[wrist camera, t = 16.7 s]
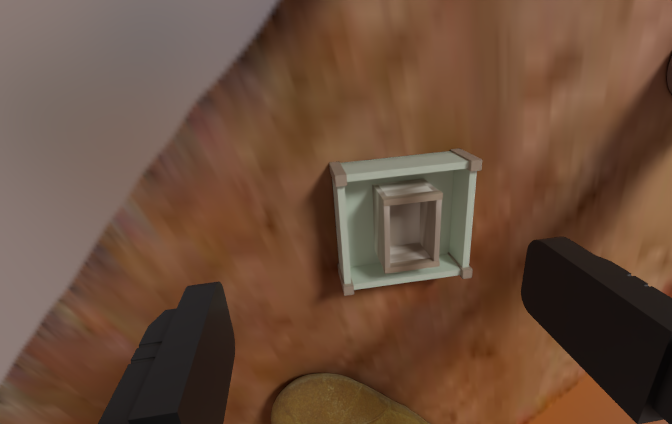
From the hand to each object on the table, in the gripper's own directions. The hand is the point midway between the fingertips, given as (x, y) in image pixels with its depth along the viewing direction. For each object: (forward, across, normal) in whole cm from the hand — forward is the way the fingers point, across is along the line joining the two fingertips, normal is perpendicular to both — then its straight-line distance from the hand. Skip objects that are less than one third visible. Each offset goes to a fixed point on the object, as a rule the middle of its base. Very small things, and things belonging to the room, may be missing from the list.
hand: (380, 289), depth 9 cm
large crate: (+33, -10, +13) cm, 37 cm away
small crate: (+32, -10, +13) cm, 36 cm away
